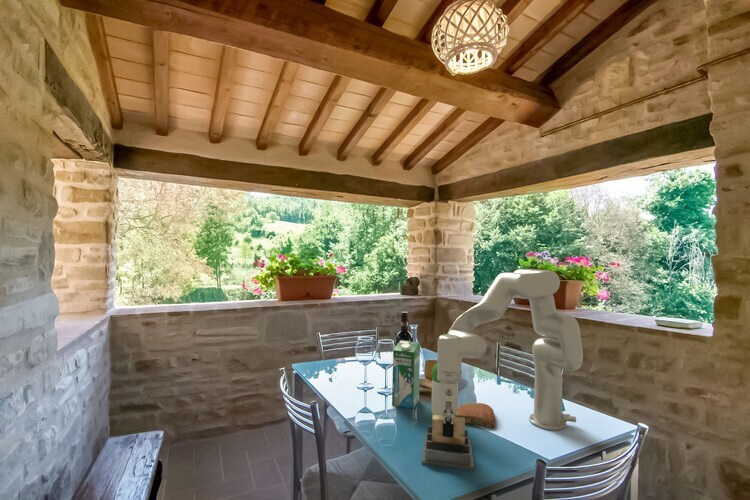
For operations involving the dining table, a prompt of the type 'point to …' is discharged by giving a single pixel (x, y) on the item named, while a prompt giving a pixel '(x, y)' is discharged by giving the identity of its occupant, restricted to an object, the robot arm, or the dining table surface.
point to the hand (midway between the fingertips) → (447, 429)
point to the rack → (447, 453)
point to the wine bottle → (436, 394)
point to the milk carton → (406, 374)
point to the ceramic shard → (477, 414)
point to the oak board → (457, 434)
